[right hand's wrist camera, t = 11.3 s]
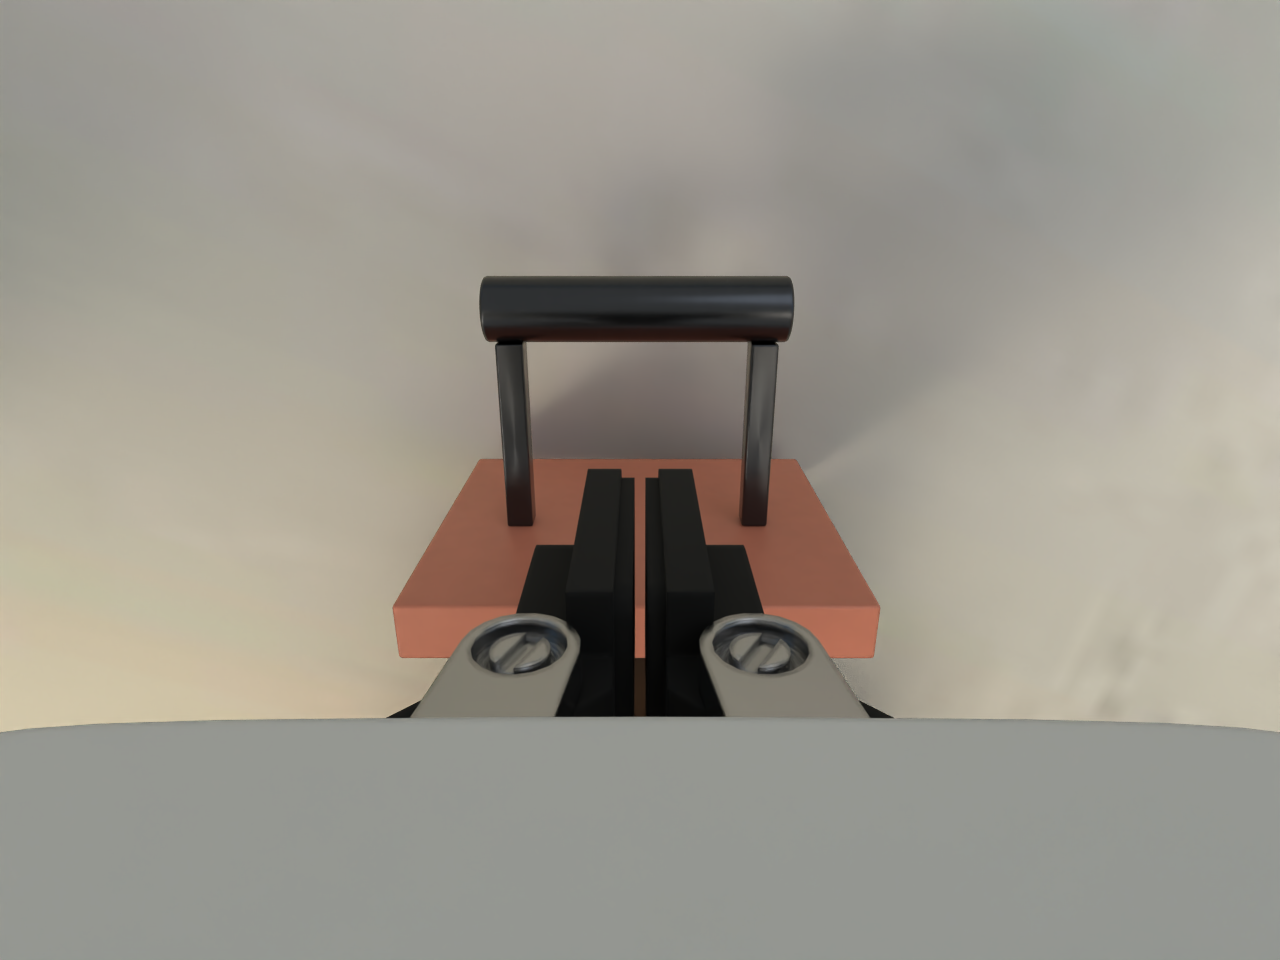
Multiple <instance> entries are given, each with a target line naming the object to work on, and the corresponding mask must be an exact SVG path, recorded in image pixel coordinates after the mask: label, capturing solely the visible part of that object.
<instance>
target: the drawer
mask: <svg viewBox="0 0 1280 960" xmlns="http://www.w3.org/2000/svg"><path fill="white" fill-rule="evenodd" d="M479 309H480V321H481V327H482V331H483V335H484V337H485V339H486V340H487V341H489V342H497V344H496V345H495V351H496V366H497V380H498V394H499V408H500V423H501V437H502V451H503V459H480V460H479V461H478V463H477V465H476V466H475V468H474V470H473V471H472V473H471V475H470V476H469V478H468V480H467V482H466V483H465V485H464V487H463V488H462V490H461V492H460V493H459V495H458V497H457V498H456V500H455V502H454V504H453V505H452V507H451V509H450V510H449V512H448V514H447V515H446V517H445V519H444V520H443V522H442V524H441V526H440V527H439V529H438V531H437V532H436V534H435V536H434V537H433V539H432V541H431V542H430V544H429V546H428V548H427V549H426V551H425V553H424V554H423V556H422V558H421V559H420V561H419V563H418V565H417V566H416V568H415V570H414V571H413V573H412V575H411V576H410V578H409V580H408V581H407V583H406V585H405V587H404V588H403V590H402V592H401V593H400V595H399V597H398V598H397V600H396V602H395V603H394V605H393V614H394V621H395V628H396V636H397V643H398V650H399V656H400V657H402V658H450V656H451V655H452V653H453V652H454V650H455V649H456V647H457V646H458V644H459V643H460V641H461V640H462V639H463V638H464V637H465V636H466V635H467V634H468V632H469V631H470V630H472V629H474V628H475V627H477V626H479V625H480V624H482V623H484V622H486V621H489V620H492V619H494V618H497V617H500V616H505V615H511V614H516V611H517V608H518V604H519V601H520V597H521V594H522V590H523V587H524V584H525V580H526V577H527V573H528V570H529V566H530V563H531V559H532V556H533V553H534V549H535V547H536V545H574V541H575V536H576V530H577V525H578V520H579V514H580V509H581V503H582V498H583V492H584V487H585V482H586V476H587V471H588V469H621V470H622V478H635V692H634V717H646V692H645V478H658V470H659V469H692V471H693V476H694V482H695V487H696V492H697V498H698V503H699V509H700V514H701V520H702V525H703V530H704V536H705V541H706V545H744V547H745V549H746V553H747V556H748V559H749V563H750V566H751V570H752V573H753V577H754V580H755V584H756V587H757V590H758V594H759V597H760V601H761V604H762V608H763V611H764V614H769V615H775V616H780V617H783V618H786V619H788V620H791V621H794V622H796V623H798V624H800V625H801V626H803V627H805V628H806V629H808V630H810V631H811V632H812V634H813V635H814V636H815V637H816V638H817V639H818V640H819V641H820V643H821V644H822V646H823V647H824V649H825V650H826V652H827V653H828V655H829V656H830V658H872V657H873V656H874V651H875V644H876V636H877V629H878V621H879V614H880V606H879V604H878V602H877V600H876V598H875V597H874V595H873V593H872V591H871V590H870V588H869V586H868V584H867V583H866V581H865V579H864V577H863V576H862V574H861V572H860V570H859V569H858V567H857V565H856V563H855V562H854V560H853V558H852V556H851V555H850V553H849V551H848V549H847V548H846V546H845V544H844V542H843V541H842V539H841V537H840V535H839V534H838V532H837V530H836V528H835V527H834V525H833V523H832V521H831V520H830V518H829V516H828V514H827V513H826V511H825V509H824V507H823V506H822V504H821V502H820V500H819V499H818V497H817V495H816V493H815V492H814V490H813V488H812V486H811V485H810V483H809V481H808V479H807V478H806V476H805V474H804V472H803V471H802V469H801V467H800V465H799V464H798V462H797V460H795V459H771V452H772V437H773V423H774V408H775V393H776V378H777V364H778V349H779V346H778V344H777V343H776V342H786V341H787V340H788V339H789V337H790V334H791V331H792V326H793V318H794V289H793V284H792V280H791V278H790V277H788V276H486V277H484V278H483V280H482V283H481V287H480V296H479ZM526 342H748V349H747V368H746V387H745V406H744V425H743V444H742V459H533V454H532V436H531V418H530V400H529V381H528V363H527V345H526Z"/></svg>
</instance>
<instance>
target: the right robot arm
mask: <svg viewBox="0 0 1280 960" xmlns="http://www.w3.org/2000/svg"><path fill="white" fill-rule="evenodd" d="M634 692H635V478H622V470H621V469H588V471H587V476H586V482H585V487H584V492H583V498H582V503H581V509H580V514H579V520H578V525H577V530H576V536H575V541H574V545H536V547H535V549H534V553H533V556H532V559H531V563H530V566H529V570H528V573H527V577H526V580H525V584H524V587H523V590H522V594H521V597H520V601H519V604H518V608H517V611H516V614H511V615H505V616H500V617H497V618H494V619H492V620H489V621H486V622H484V623H482V624H480V625H479V626H477V627H475V628H474V629H472V630H470V631H469V632H468V634H467V635H466V636H465V637H464V638H463V639H462V640H461V641H460V643H459V644H458V646H457V647H456V649H455V650H454V652H453V653H452V655H451V656H450V658H449V659H448V661H447V662H446V664H445V665H444V667H443V668H442V670H441V671H440V673H439V675H438V676H437V678H436V679H435V681H434V682H433V684H432V685H431V687H430V688H429V690H428V691H427V693H426V694H425V696H424V697H423V699H422V700H421V701H419V702H417V703H415V704H413V705H411V706H409V707H407V708H405V709H403V710H401V711H399V712H397V713H395V714H393V715H391V716H389V717H387V718H366V719H272V720H208V721H175V722H143V723H110V724H89V725H75V726H61V727H47V728H32V729H22V730H15V731H7V732H0V960H1280V732H1273V731H1264V730H1256V729H1247V728H1236V727H1220V726H1204V725H1188V724H1172V723H1140V722H1103V721H1065V720H1028V719H912V718H893V717H891V716H889V715H887V714H885V713H883V712H881V711H879V710H877V709H875V708H873V707H871V706H869V705H867V704H865V703H863V702H861V701H859V700H858V699H857V697H856V696H855V694H854V693H853V691H852V690H851V688H850V687H849V685H848V684H847V682H846V681H845V679H844V678H843V676H842V675H841V673H840V671H839V670H838V668H837V667H836V665H835V664H834V662H833V661H832V659H831V658H830V656H829V655H828V653H827V652H826V650H825V649H824V647H823V646H822V644H821V643H820V641H819V640H818V639H817V638H816V637H815V636H814V635H813V634H812V632H811V631H810V630H808V629H806V628H805V627H803V626H801V625H800V624H798V623H796V622H794V621H791V620H788V619H786V618H783V617H780V616H775V615H769V614H764V611H763V608H762V604H761V601H760V597H759V594H758V590H757V587H756V584H755V580H754V577H753V573H752V570H751V566H750V563H749V559H748V556H747V553H746V549H745V547H744V545H706V541H705V536H704V530H703V525H702V520H701V514H700V509H699V503H698V498H697V492H696V487H695V482H694V476H693V471H692V469H659V470H658V478H645V692H646V717H634Z"/></svg>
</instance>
